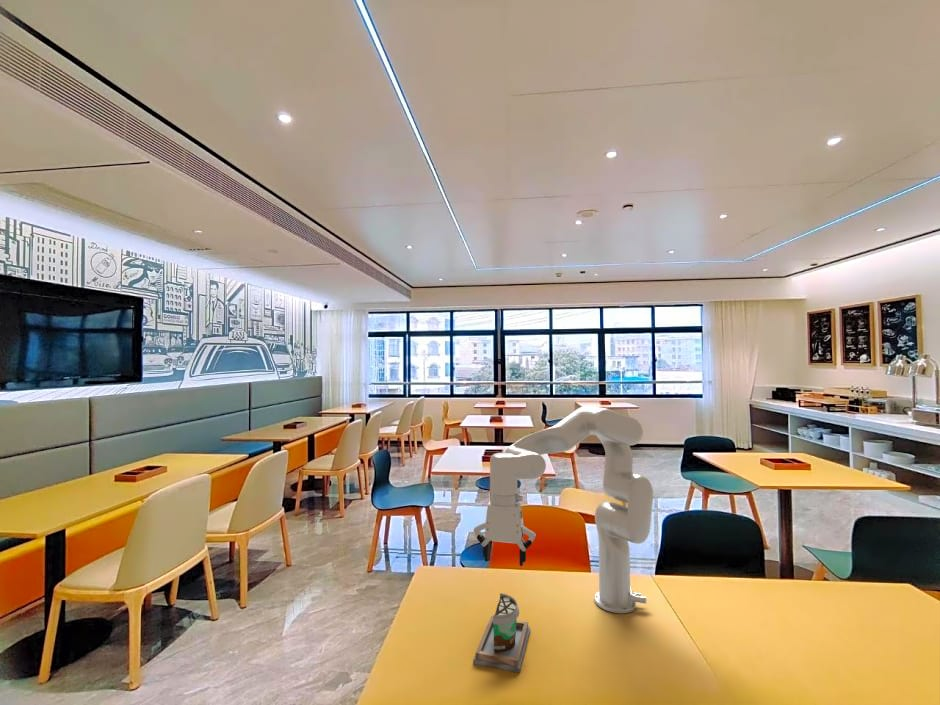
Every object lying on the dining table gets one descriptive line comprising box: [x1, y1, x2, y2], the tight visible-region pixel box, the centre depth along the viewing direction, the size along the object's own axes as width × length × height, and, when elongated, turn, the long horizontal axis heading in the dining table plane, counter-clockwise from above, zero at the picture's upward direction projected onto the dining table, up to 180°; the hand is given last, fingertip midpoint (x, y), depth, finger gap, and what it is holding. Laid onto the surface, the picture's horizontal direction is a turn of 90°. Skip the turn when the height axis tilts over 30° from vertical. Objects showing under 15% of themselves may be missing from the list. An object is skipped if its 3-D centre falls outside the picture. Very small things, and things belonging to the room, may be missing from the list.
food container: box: [492, 592, 520, 652], centre depth 116 cm, size 12×6×10 cm, turn 167°
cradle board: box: [472, 615, 531, 674], centre depth 116 cm, size 12×18×2 cm, turn 164°
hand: (504, 561), depth 118 cm, fingers open, 9 cm apart
